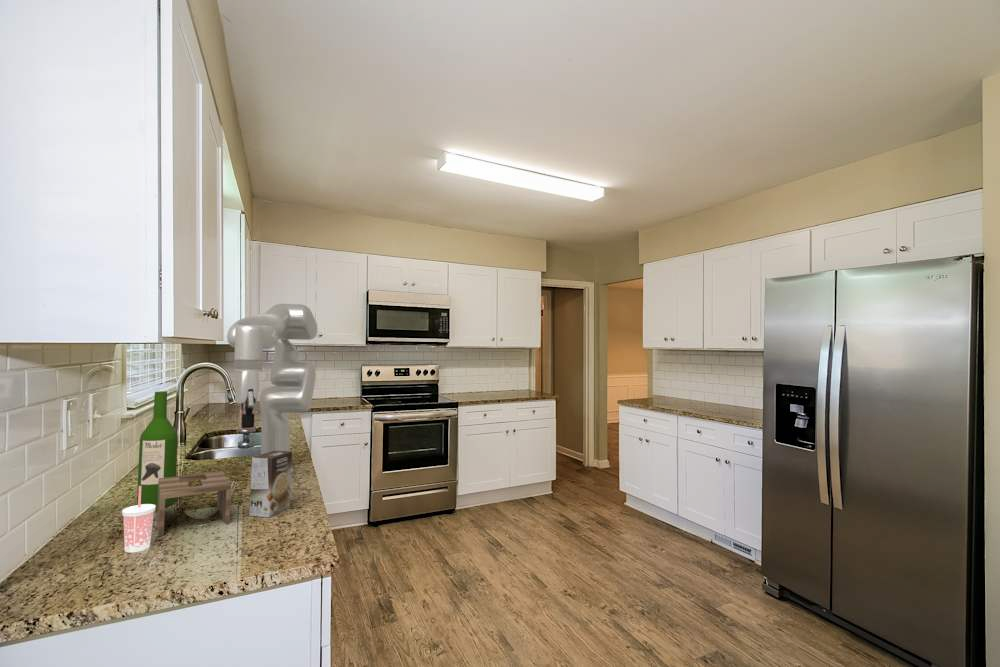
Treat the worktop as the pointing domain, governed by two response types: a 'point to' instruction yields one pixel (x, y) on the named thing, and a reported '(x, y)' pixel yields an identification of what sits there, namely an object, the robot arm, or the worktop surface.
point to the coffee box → (270, 483)
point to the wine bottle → (157, 453)
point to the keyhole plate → (194, 492)
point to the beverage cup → (138, 526)
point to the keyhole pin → (245, 433)
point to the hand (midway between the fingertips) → (246, 426)
